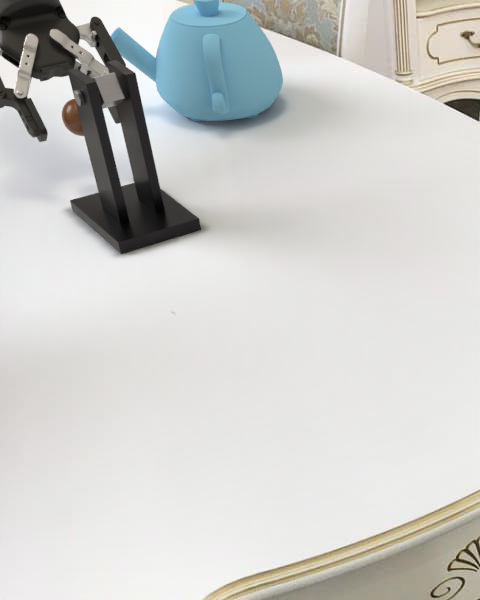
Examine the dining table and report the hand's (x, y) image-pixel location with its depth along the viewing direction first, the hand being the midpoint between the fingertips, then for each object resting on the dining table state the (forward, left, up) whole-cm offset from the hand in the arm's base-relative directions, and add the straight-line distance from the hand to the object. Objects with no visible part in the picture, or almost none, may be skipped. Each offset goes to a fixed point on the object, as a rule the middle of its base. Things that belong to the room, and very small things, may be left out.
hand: (83, 128), depth 117 cm
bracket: (+4, -8, -7) cm, 11 cm away
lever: (+2, -5, +2) cm, 6 cm away
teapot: (+11, +22, -7) cm, 26 cm away
